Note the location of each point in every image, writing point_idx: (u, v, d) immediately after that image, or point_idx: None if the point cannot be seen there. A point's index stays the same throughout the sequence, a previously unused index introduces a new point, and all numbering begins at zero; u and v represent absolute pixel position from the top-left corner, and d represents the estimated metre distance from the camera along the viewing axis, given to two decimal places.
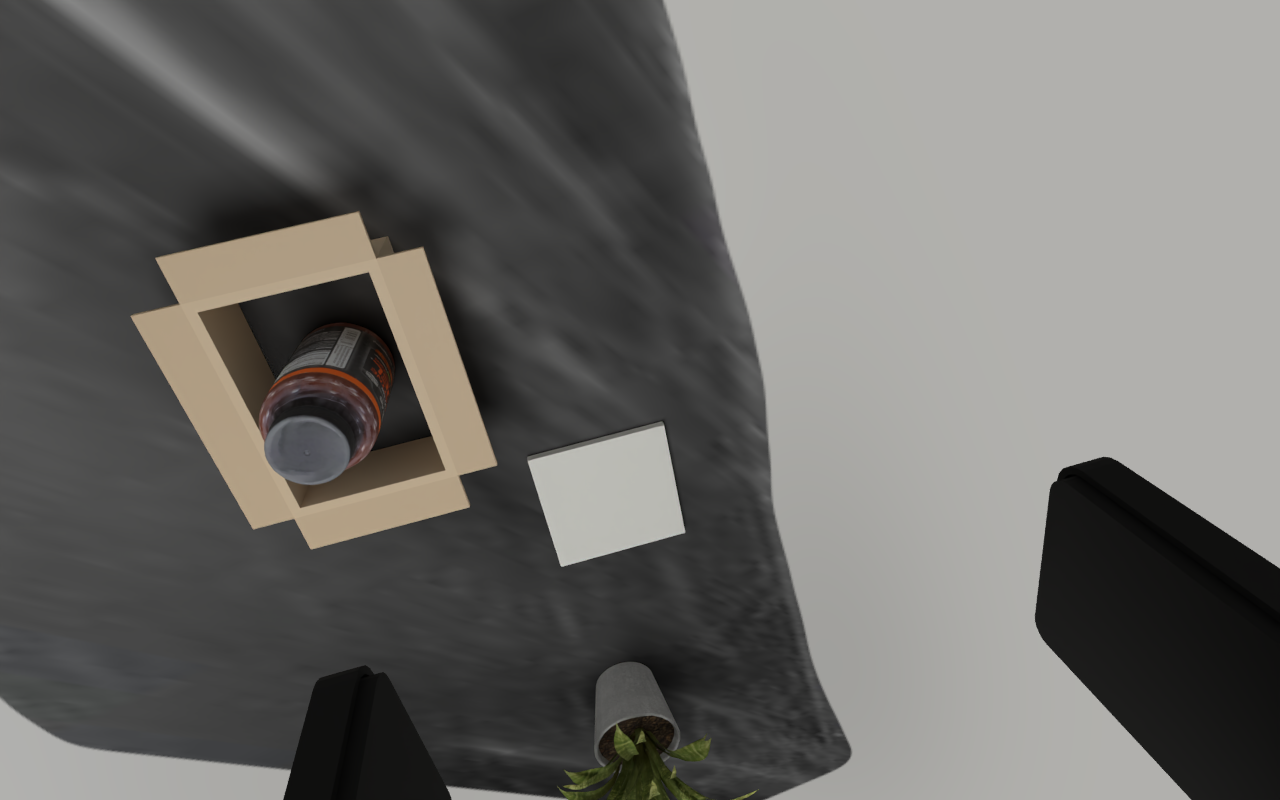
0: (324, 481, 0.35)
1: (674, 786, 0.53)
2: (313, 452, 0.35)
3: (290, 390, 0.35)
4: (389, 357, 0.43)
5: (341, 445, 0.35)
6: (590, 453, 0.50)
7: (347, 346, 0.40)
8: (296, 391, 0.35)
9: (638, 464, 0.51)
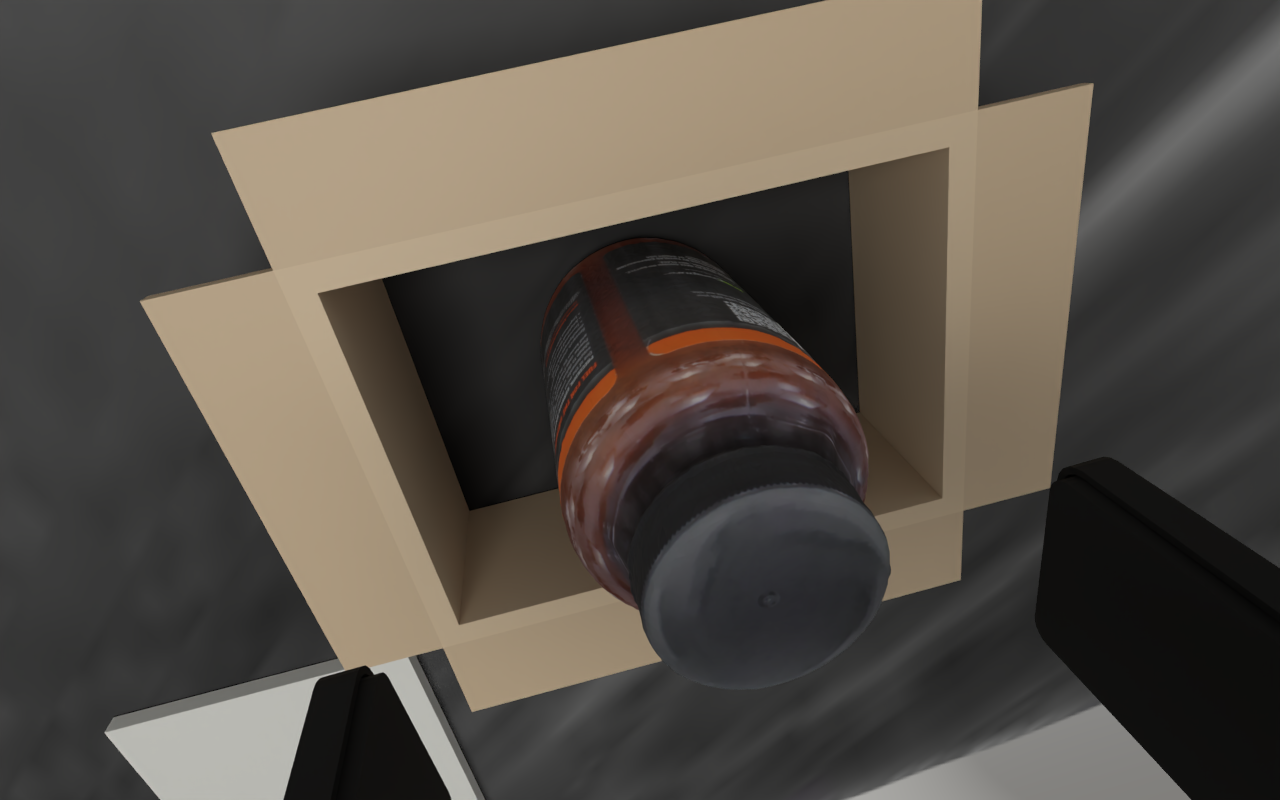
0: (655, 636, 0.11)
1: None
2: (768, 613, 0.11)
3: (860, 461, 0.13)
4: None
5: (775, 677, 0.11)
6: (427, 743, 0.26)
7: None
8: (858, 478, 0.13)
9: None
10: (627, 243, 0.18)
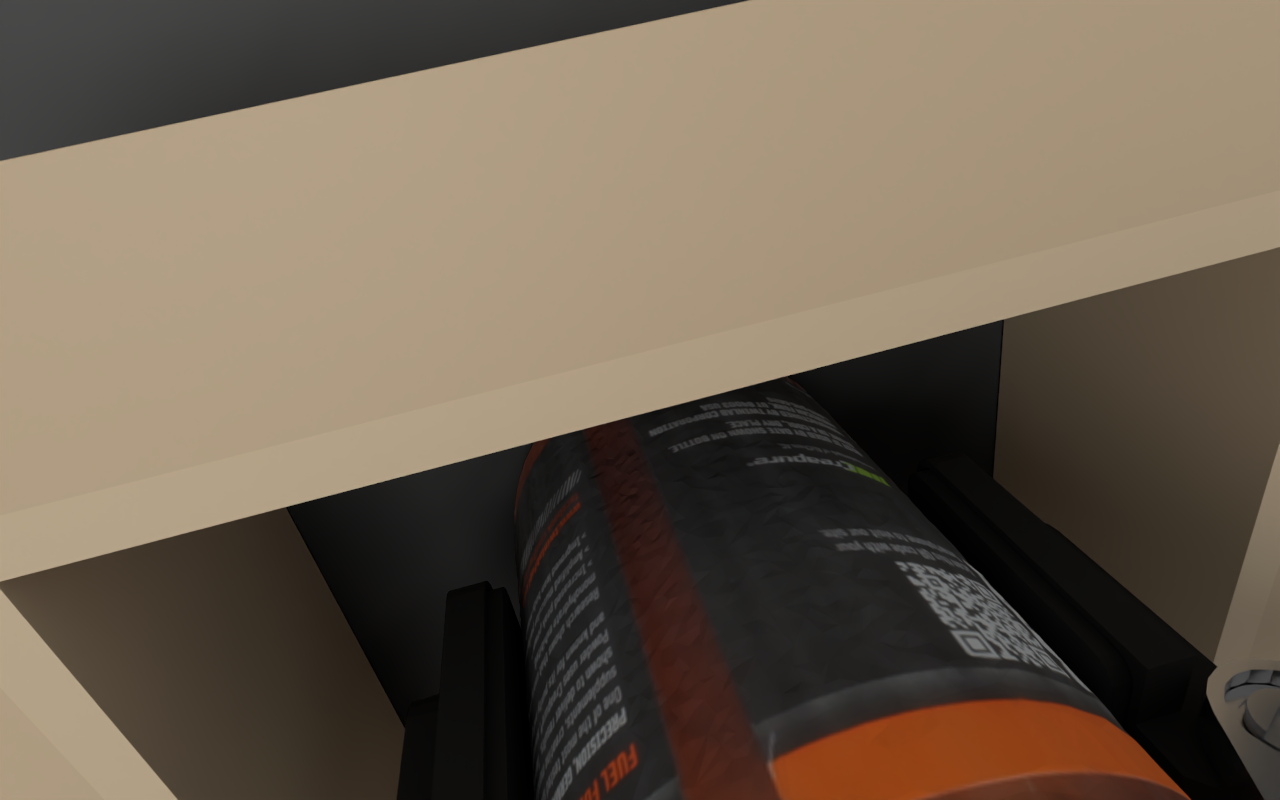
0: None
1: None
2: None
3: None
4: None
5: None
6: None
7: None
8: None
9: None
10: None
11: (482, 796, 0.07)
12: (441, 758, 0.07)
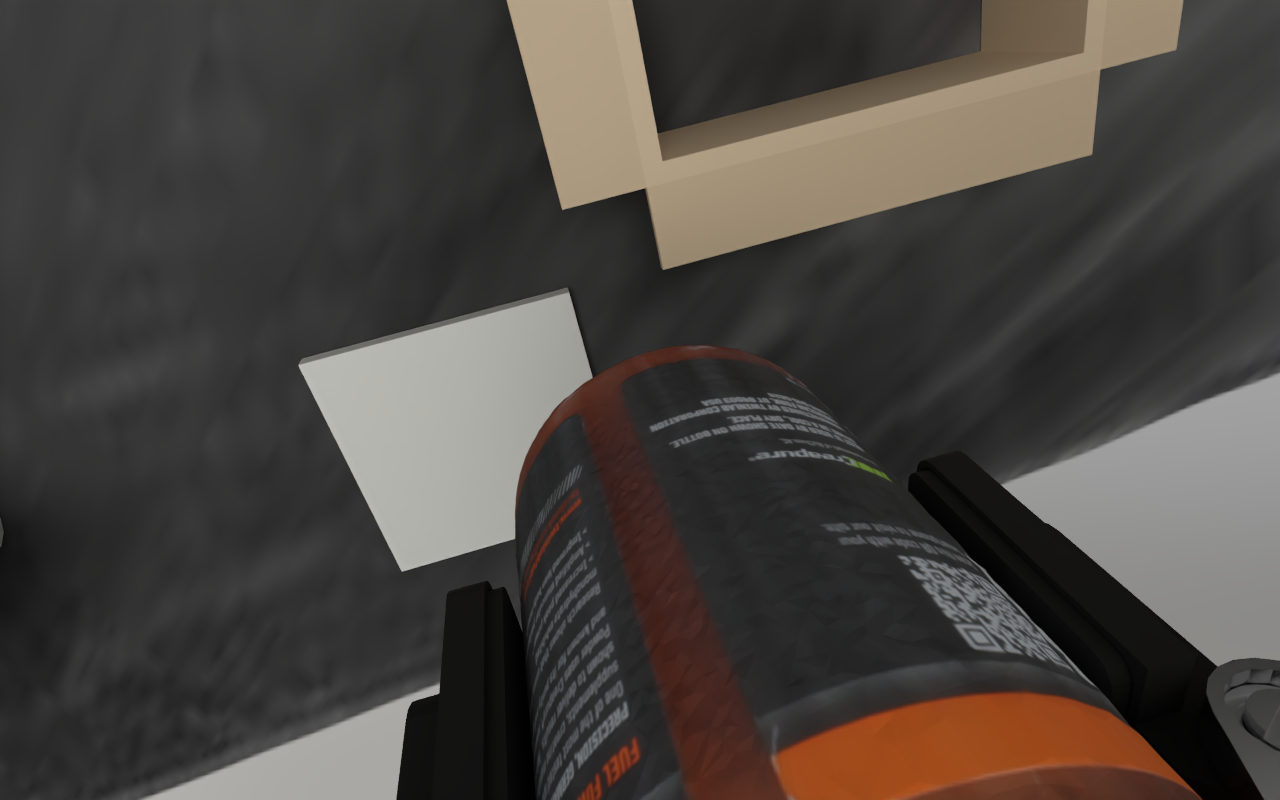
0: None
1: None
2: None
3: None
4: None
5: None
6: None
7: None
8: None
9: None
10: (660, 359, 0.11)
11: (482, 797, 0.07)
12: (441, 758, 0.07)
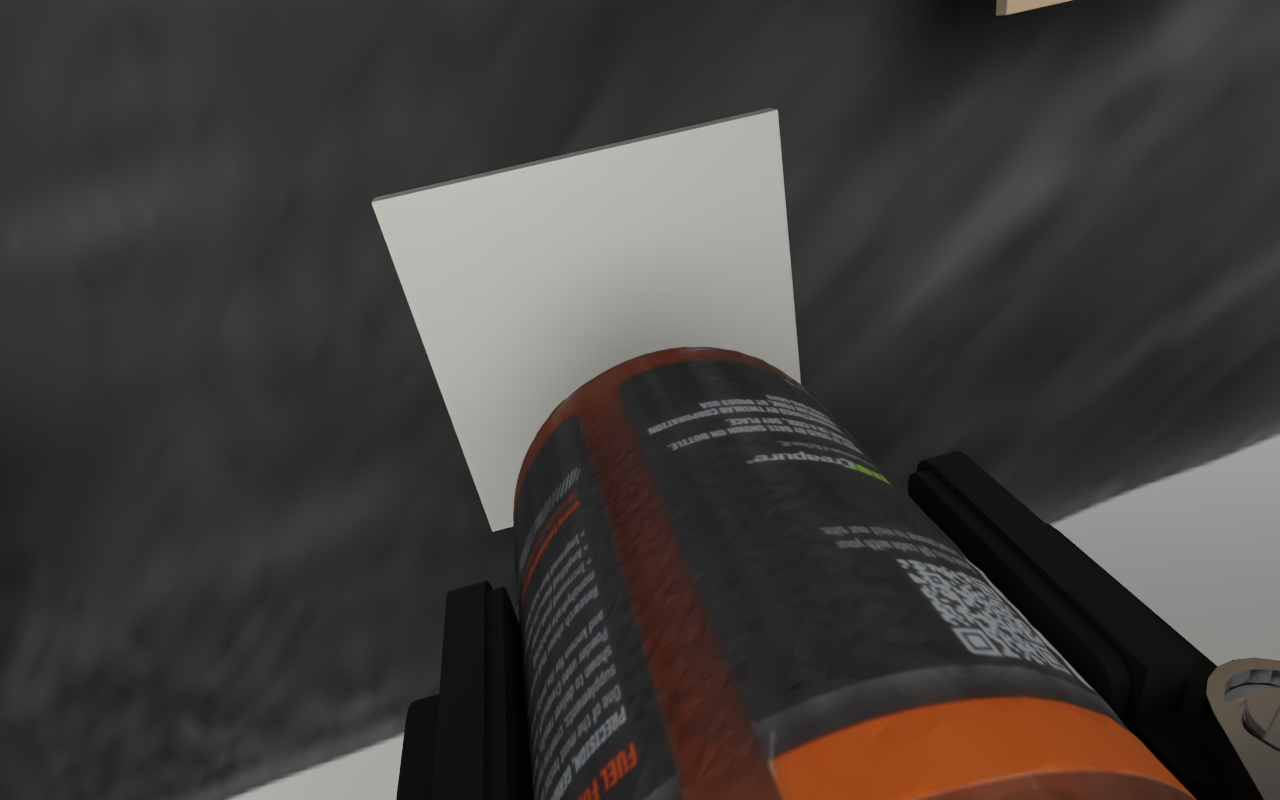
0: None
1: None
2: None
3: None
4: None
5: None
6: (766, 286, 0.19)
7: None
8: None
9: None
10: (658, 361, 0.11)
11: (484, 796, 0.07)
12: (441, 758, 0.07)
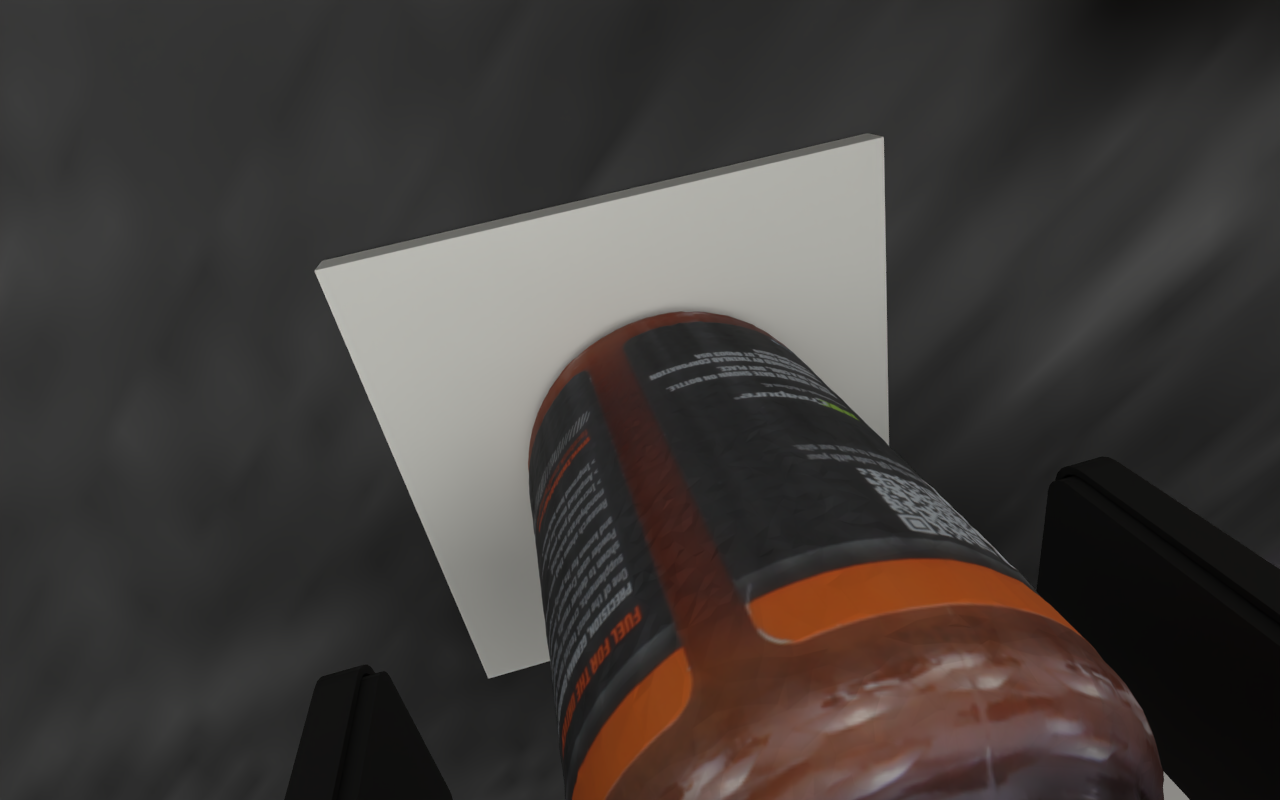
0: None
1: None
2: None
3: None
4: None
5: None
6: (854, 368, 0.14)
7: None
8: None
9: None
10: (658, 323, 0.12)
11: None
12: None
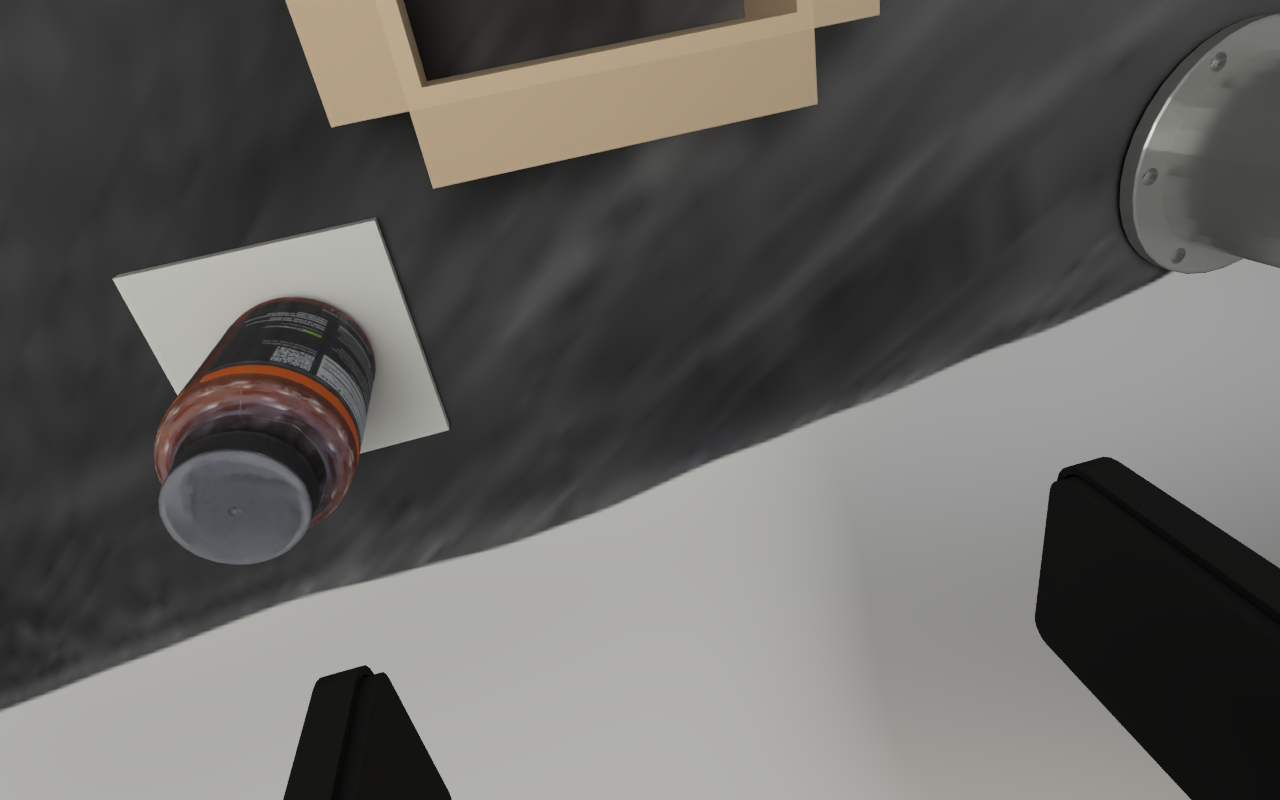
0: (172, 532, 0.20)
1: None
2: (237, 519, 0.20)
3: (331, 439, 0.22)
4: None
5: (257, 556, 0.21)
6: (393, 325, 0.30)
7: None
8: (331, 449, 0.22)
9: (373, 400, 0.31)
10: (271, 302, 0.28)
11: None
12: None
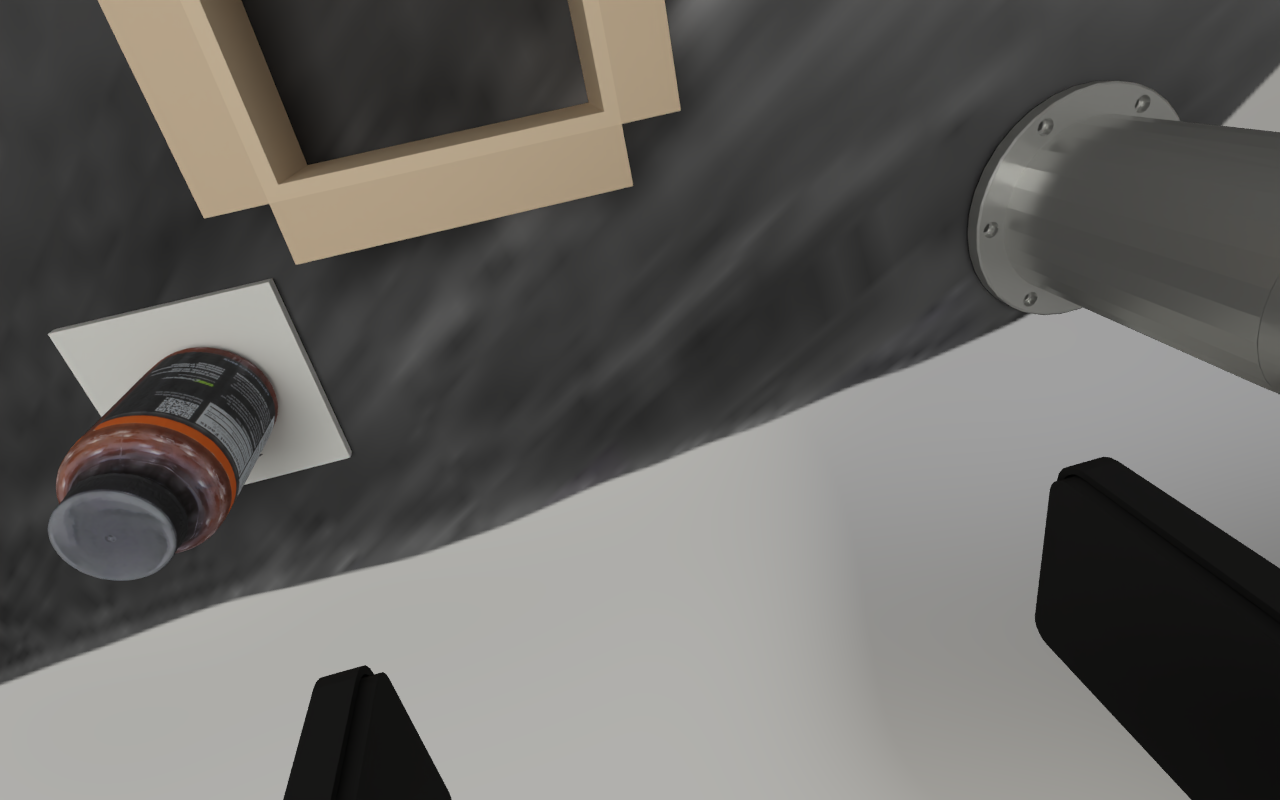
0: (61, 555, 0.25)
1: None
2: (113, 544, 0.25)
3: (201, 477, 0.27)
4: None
5: (133, 574, 0.26)
6: (292, 369, 0.35)
7: (257, 455, 0.32)
8: (201, 485, 0.27)
9: (280, 432, 0.36)
10: (181, 352, 0.33)
11: None
12: None
